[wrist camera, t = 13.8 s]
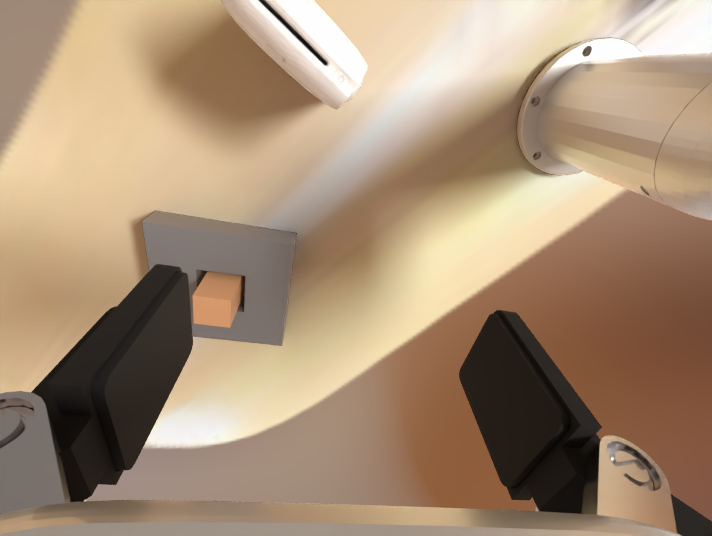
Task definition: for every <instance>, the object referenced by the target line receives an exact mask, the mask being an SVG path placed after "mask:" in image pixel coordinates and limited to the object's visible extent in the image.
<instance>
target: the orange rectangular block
mask: <svg viewBox="0 0 712 536" xmlns="http://www.w3.org/2000/svg"><path fill="white" fill-rule="evenodd" d="M244 291H245V276H241V275H234V274H227V273H219V272H212V271H207V273H206V275H205V276H204V278H203V279H202V281H201V283H200V284H199V286H198V287H197V289H196V291H195V292H194V294H193V295H192V296H193V318H194V323H195V324H203V325H211V326H219V327H227V328H230V327H231V325H232V322H233V320H234V317H235V315H236V312H237V310H238V307H239V305H240V302H241V300H242V297H243V295H244Z"/></svg>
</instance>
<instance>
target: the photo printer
mask: <svg viewBox="0 0 712 536" xmlns="http://www.w3.org/2000/svg"><path fill="white" fill-rule="evenodd" d="M221 1H222V4H223V5H224V7H225V8H226V10H227V11H228V12H229V14H230V15H231V16H232V18H233V19H234V21H235V22H236V23H237V24H238V25H239V26H240V27H241V28H242V29H243V30H244V31H245V32H246V33H247V35H248V36H249V37H250V38H251V39H252V40H253V41H254V42H255V43H256V44H257V45H258V46H259V47H260V48H261V49H263V50H264V51H265V52H266V53H267V54H268V55H269V56H270V57H271V58H272V59H273V60H274V61H275V62H276V63H277V64H278V65H279V66H280V67H281V68H283V69H284V70H285V71H286V72H287V73H288V74H289V75H290V76H291V77H293V78H294V79H295V80H296V81H297V82H298V83H299V84H301V85H302V86H303V87H304V88H305V89H306V90H308V91H309V92H310V93H311V94H313V95H314V96H316V97H317V98H318V99H319V100H321V101H322V102H324V103H325V104H327V105H328V106H330V107H332V108H334V109H338V108H339V107H340V106H341V105H342V104H343V103H346V102H348V101H350V100H351V99H352V98H353V97H354V96H355V95H356V94H357V92H358V91H359V89H360V88H361V85H362V82H363V76H364V74H365V73H366V71H367V69H368V66H367V64H366V62H365V60H364V59H363V57H362V55H361V54H360V53H359V51H358V50H357V48H356V47H355V46H354V45H353V44H352V42H351V41H350V40H349V39H348V38H347V37H346V35H345V34H344V33H343V32H342V31H341V30H340V29H339V27H338V26H337V25H336V24H335V23H334V22H333V21H332V20H331V18H330V17H329V16H328V15H327V14H326V13H325V12H324V11H323V10H322V9H321V8H320V7H319V6H318V5H317V3H316V2H315V1H314V0H221Z"/></svg>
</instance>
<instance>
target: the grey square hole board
mask: <svg viewBox="0 0 712 536" xmlns="http://www.w3.org/2000/svg"><path fill="white" fill-rule="evenodd" d="M142 225H143V232H144V239H145V246H146V253H147V260H148V267H149V271H150V270H151V269H152V268H153V267H154V266H155V265H156V264H163V265H170V266H178V267H180V268H181V270H182V272H184V273H187V275H188V281H189V295H190V309H191V323H192V336H194V337H203V338H213V339H222V340H232V341H241V342H251V343H260V344H270V345H279V346H282V342H283V337H284V332H285V324H286V316H287V308H288V300H289V292H290V284H291V275H292V267H293V259H294V251H295V243H296V235H297V233H293V232H287V231H280V230H274V229H268V228H261V227H255V226H249V225H243V224H236V223H230V222H224V221H217V220H211V219H205V218H199V217H192V216H186V215H180V214H173V213H167V212H161V211H154V212H153V213H152V214H150V215H149V216H148V217H147V218H145V219H144V220H143V221H142ZM205 271H212V272H219V273H227V274H234V275H241V276H245V297H242V300H241V302H240V305H239V307H238V310H237V312H236V315H235V317H234V320H233V322H232V325H231V327H230V328H227V327H219V326H211V325H203V324H195V323H194V318H193V296H192V295H193V294H194V292H195V291H196V289H197V287H198V286H199V284H200V283H201V281H202V279H203V278H204V276H205Z"/></svg>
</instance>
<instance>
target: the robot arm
mask: <svg viewBox="0 0 712 536" xmlns="http://www.w3.org/2000/svg"><path fill="white" fill-rule="evenodd" d="M582 51H583V53H582ZM532 99H533V102H532V103H531V101H532ZM517 133H518V141H519V145H520V149H521V151H522V153H523V154H524V156H525V158H526V159H527V160H528V161H529V162H530V163H531V164H532V165H533V166H535V167H536V168H538V169H539V170H542V171H544V172H546V173H549V174H554V175H570V174H576V173H579V172H582V171H585V172H588V173H590V174H593V175H595V176H598V177H600V178H602V179H605V180H607V181H610V182H612V183H614V184H617V185H619V186H622V187H624V188H627V189H629V190H631V191H634V192H636V193H639V194H641V195H644V196H646V197H648V198H651V199H653V200H656V201H658V202H660V203H663V204H665V205H668V206H670V207H673V208H675V209H678V210H680V211H682V212H685V213H688V214H690V215H693V216H696V217H699V218H703V219H708V220H712V53H704V54H678V55H653V56H643V55H642V53H641V52H640V51H639V50H638V49H637V48H636V47H635V46H634V45H633V44H631V43H629V42H627V41H625V40H623V39H618V38H612V37H607V38H596V39H591V40H586V41H583V42H581V43H578V44H576V45H573V46H571V47H570V48H568V49H566V50H565V51H563V52H562V53H560V54H559V55H557V56H556V57H555V58H554V59H553V60H552V61H551V62H549V63H548V64H547V65H546V66H545V67H544V69H543V70H542V71H541V72H540V73H539V74H538V76H537V77H536V78H535V80H534V81H533V83H532V85H531V86H530V88H529V89H528V91H527V94H526V96H525V98H524V100H523V102H522V106H521V109H520V113H519V117H518V125H517ZM534 153H535V154H534ZM192 345H193V337H192V323H191V309H190V295H189V281H188V275H187V273H184V272H182V270H181V268H180V267H178V266H170V265H163V264H156V265H155V266H154V267H153V268H152V269H151V270H150V271H149V272H148V273H147V274H146V275H145V277H144V278H143V279H142V280H141V281H140V282H139V283H138V284H137V285H136V286H135V288H134V289H133V290H132V291H131V292H130V293H129V294H128V295H127V296H126V297H125V299H124V300H123V301H122V302H121V303H120V304H119V305H118V306H117V307H113V308H111V309H109V310H108V311H107V312H106V313H105V314H104V315H103V316H102V317H101V318H100V319H99V320H98V321H97V323H96V324H95V325H94V326H93V327H92V328H91V329H90V330H89V331H88V332H87V333H86V334H85V335H84V336H83V338H82V339H81V340H80V341H79V342H78V343H77V344H76V345H75V346H74V347H73V348H72V349H71V350H70V351H69V353H68V354H67V355H66V356H65V357H64V358H63V359H62V360H61V361H60V362H59V363H58V364H57V365H56V366H55V367H54V369H53V370H52V371H51V372H50V373H49V374H48V375H47V376H46V377H45V378H44V379H43V380H42V381H41V382H40V384H39V385H38V386H37V387H36V388H35V389H34V390H33V391H32V392H31V393H30V392H23V391H17V392H5V393H1V394H0V536H712V522H711V521H710V520H708V519H707V518H705V517H704V516H703V515H701V514H700V513H698V512H697V511H695V510H694V509H692V508H691V507H689V506H688V505H686V504H684V503H683V502H682V501H680V500H679V499H677V498H676V497H674V496H673V495H671V494H670V488H669V484H668V482H667V479H666V477H665V475H664V474H663V472H662V471H661V469H660V468H659V467H658V465H657V464H656V463H655V462H654V461H653V460H652V459H651V458H650V457H649V456H648V455H647V454H646V453H645V452H643V451H642V450H641V449H640V448H638V447H637V446H635V445H634V444H632V443H631V442H629V441H627V440H625V439H623V438H620V437H616V436H605V437H603V438H602V439H599V437H598V436H597V435H596V433H597V432H598V431H599V430H600V429H601V428H602V427H601V425H600V424H599V423H598V421H597V420H596V419H595V417H594V416H593V415H592V413H591V412H590V410H589V409H588V408H587V407H586V405H585V404H584V402H583V401H582V400H581V399H580V397H579V396H578V394H577V393H576V392H575V390H574V389H573V388H572V386H571V385H570V384H569V382H568V381H567V380H566V378H565V377H564V376H563V374H562V373H561V371H560V370H559V369H558V368H557V366H556V365H555V363H554V362H553V361H552V359H551V358H550V357H549V355H548V354H547V353H546V351H545V350H544V349H543V347H542V346H541V345H540V343H539V342H538V341H537V339H536V338H535V337H534V335H533V334H532V333H531V331H530V330H529V329H528V327H527V326H526V324H525V323H524V322H523V320H522V319H521V318H520V316H519V315H518V314H517V313H515V312H508V311H502V310H497V311H496V312H494V314H491V315H489V317H488V319H487V320H486V322H485V324H484V326H483V328H482V330H481V332H480V333H479V335H478V337H477V339H476V341H475V343H474V345H473V346H472V348H471V350H470V352H469V354H468V356H467V358H466V359H465V361H464V363H463V365H462V367H461V369H460V373H459V377H460V381H461V384H462V386H463V389H464V391H465V394H466V396H467V399H468V401H469V404H470V406H471V409H472V411H473V414H474V416H475V419H476V421H477V424H478V426H479V429H480V431H481V434H482V436H483V438H484V441H485V444H486V446H487V448H488V451H489V454H490V456H491V459H492V461H493V463H494V466H495V468H496V471H497V473H498V476H499V478H500V481H501V482H502V484H503V485H504V486H506V487H507V489H508V491H509V494H510V496H511V498H512V500H530V499H531V498H532V497H533V499H534V501H535V503H536V510H535V511H513V510H487V509H461V508H432V507H402V506H371V505H340V504H339V505H338V504H306V503H267V502H231V501H169V500H168V501H167V500H164V501H163V500H162V501H161V500H111V501H86V499H87V498H88V497H90V496H92V494H93V492H94V490H95V489H96V487H97V485H98V484H108V485H116V484H117V482H118V480H119V478H120V476H121V474H122V472H123V470H130V469H131V468H132V467H133V465H134V464H135V462H136V460H137V458H138V456H139V454H140V452H141V450H142V448H143V446H144V444H145V442H146V440H147V438H148V436H149V434H150V432H151V430H152V428H153V426H154V424H155V422H156V420H157V418H158V416H159V414H160V412H161V411H162V409H163V407H164V405H165V403H166V401H167V399H168V397H169V395H170V393H171V391H172V389H173V387H174V385H175V383H176V381H177V379H178V377H179V375H180V373H181V371H182V369H183V367H184V365H185V363H186V361H187V359H188V357H189V355H190V353H191V350H192Z"/></svg>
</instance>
